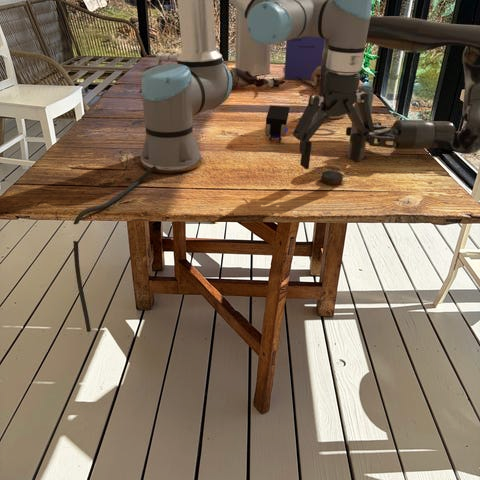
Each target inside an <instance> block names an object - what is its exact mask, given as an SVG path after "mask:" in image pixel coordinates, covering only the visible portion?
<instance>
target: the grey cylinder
mask: <svg viewBox="0 0 480 480" xmlns="http://www.w3.org/2000/svg"><path fill="white" fill-rule="evenodd" d="M359 91H363V92H365V93H367V94H369V99H368V105H369V109H370V113H371V114H372V108H373V103H374V102H373V101H374V95H375V94H374V92H373V91H374V87H373V86H370V85H359V88H358V90H357V91H356V93H359ZM353 107H354V109H355V110H356V112H357V115H358V117H359V118H360V120H361V122H362V124H363V121H362V117H361V113H360V110H359V106H358V102H357V100H356V102H355V103H354V104H353ZM350 127H351V133H358V132H357V130H356V128H355V127H354V125H353V123H352V122H351V126H350ZM351 133H350V135H351ZM366 146H367V143H365V142H364V146H363V148H361V151H360V157H359V161H362V160H364V159H365V154H366ZM351 148H352V142H351V141H350V140H349V141H348V149H347V156H346V157H347V158H348V159H350V154H351Z"/></svg>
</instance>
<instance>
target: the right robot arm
mask: <svg viewBox="0 0 480 480" xmlns="http://www.w3.org/2000/svg"><path fill="white" fill-rule="evenodd" d="M366 44H372V45H375V46H378V47H382V48H387V49H391V50H396V51H401V52H407V53H412V54H419V53H425V52H429V51H432V50H434V49H437V48H441V47H445V46H446V47H447V46H461V47H465V48H464V49H463V53H462V66H463V72H464V93H463V101H462V103H463V104H462V113H461V114H462V118H463V120H464V121H465V124H464V125H463V127H462V128H461V130H460V131H456V129H457V128H456V126H455V124H453V122H451V121H443V120H439V121H438V120H425V119H424V120H422V119H397V120H395V121H394V122H393V125H392V126H388V125H387V124H382V122H380V121H377V122H373V125H374V131H373V132H369V136H368V137H365V143H366V145H367V144H368V146H369V147H376V148H377V147H378V148H387V149H395V150H427V149H444V150H447V151H450V152H454V153H457V154H458V153H459V154H463V155H471V154H475V153H477V152H479V151H480V25H476V24H459V23H458V24H457V23H447V22H440V21H433V20H427V19H422V18H416V17H411V16H400V15H399V16H395V15H394V16H393V15H391V16H390V15H389V16H386V15H385V16H372V15H371V19H370V22H369V27H368V33H367V38H366ZM328 46H329V39H325V42H324V48H323V52H322V59H321V70H320V81H319V91H318V92H317V96H322V95H323V93H324V78H325V72H326V71H327V70H328V69H327V68H326V61H327V54H328ZM295 80H297V81H300V82H301V83H303V84H305V85H307V86H309V87H311V88H313V89H314V90H316V88H315V87H313V83H310V82H308V80H307V81H306V79H301V78H299V77H296V79H295ZM320 104H321V105H320V106H318V109H317V111H316V113H315V115H316V114H317V113H318V110H319V109H320V107H321V106H322V105H323V104H322V102H321V103H320ZM325 112H327V111H326V110H325ZM344 117H345V115H340V114H339V115H336V116H333V115H331V116H330V117H329V118H328V119H327V120H339V119H343V118H344ZM345 128H346V129H345V136H347V137H349V141H351V142H353V136H354V133H351V126H347V127H345ZM350 133H351V135H350Z"/></svg>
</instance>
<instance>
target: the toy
mask: <svg viewBox="0 0 480 480" xmlns="http://www.w3.org/2000/svg"><path fill="white" fill-rule="evenodd" d="M181 52H182V51H179V52H174V53H171V52H162V51H159V52H157V53H156V54H155V55H156V56H155V66H159V65H164V62H166V63H167V62H172V63H177V57H178V56H179V55H180V53H181Z"/></svg>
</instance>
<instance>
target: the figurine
mask: <svg viewBox="0 0 480 480" xmlns="http://www.w3.org/2000/svg"><path fill="white" fill-rule="evenodd" d="M230 69H231V71H230V73H231V77H232V89H241V88H247V87H249V86H255V87H256V88H262V87H268V88H271V89H273V88H280V86H281V85H284V84H286V83H287V79H275V78H274V77H272V78H265V77H262V78H261V77H257V76H252V75H251V73H250V72H249V71H245V72H244V71H242V70H240V69H237V68H235V67H232V66H231V67H230Z"/></svg>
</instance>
